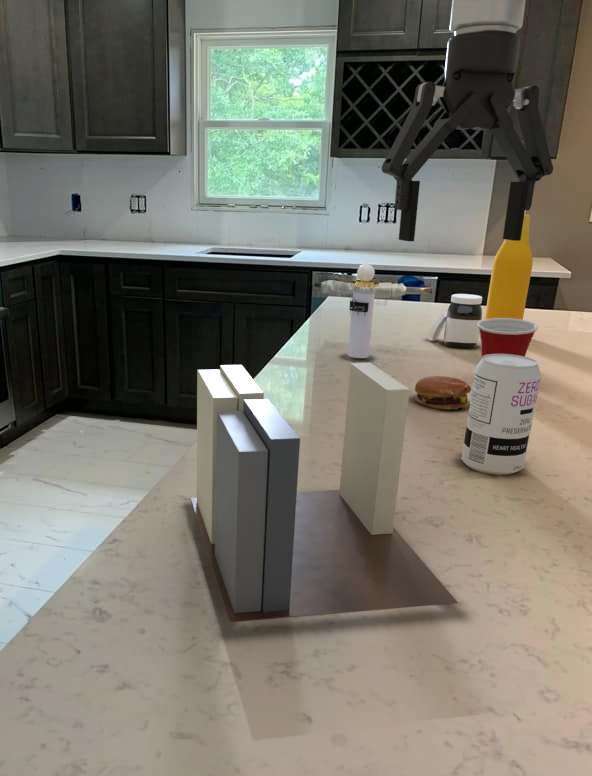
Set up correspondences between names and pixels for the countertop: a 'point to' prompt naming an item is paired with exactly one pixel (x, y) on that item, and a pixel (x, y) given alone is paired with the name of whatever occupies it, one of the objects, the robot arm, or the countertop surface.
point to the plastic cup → (505, 336)
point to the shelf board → (342, 565)
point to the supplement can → (501, 413)
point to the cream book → (373, 446)
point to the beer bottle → (510, 277)
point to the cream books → (216, 396)
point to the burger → (442, 392)
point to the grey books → (256, 505)
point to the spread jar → (459, 322)
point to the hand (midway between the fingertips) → (459, 240)
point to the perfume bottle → (361, 313)
